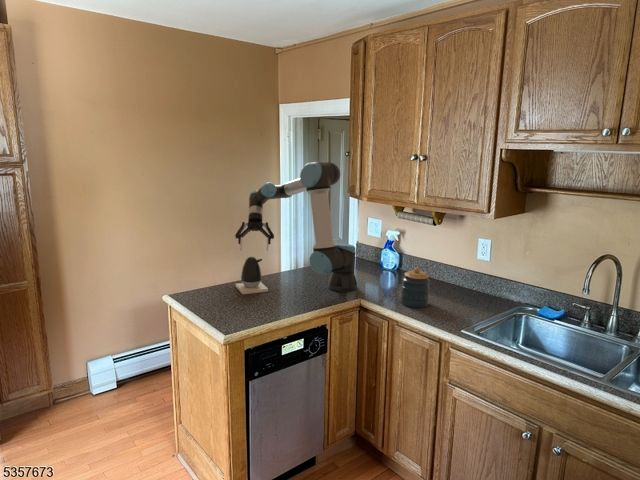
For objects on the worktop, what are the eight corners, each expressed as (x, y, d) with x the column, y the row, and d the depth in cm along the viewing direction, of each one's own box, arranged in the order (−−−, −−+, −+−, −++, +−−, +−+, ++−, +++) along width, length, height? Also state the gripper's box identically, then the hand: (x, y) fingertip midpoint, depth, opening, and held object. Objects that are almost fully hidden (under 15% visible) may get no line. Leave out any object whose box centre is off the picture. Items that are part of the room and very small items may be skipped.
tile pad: (268, 291, 220) (268, 288, 220) (242, 294, 215) (242, 291, 215) (260, 283, 232) (260, 281, 232) (235, 286, 226) (235, 283, 226)
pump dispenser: (260, 289, 218) (260, 259, 215) (239, 288, 218) (239, 259, 215) (263, 283, 228) (263, 254, 225) (243, 282, 228) (243, 254, 225)
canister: (411, 309, 202) (414, 272, 198) (394, 300, 214) (397, 265, 210) (433, 306, 208) (437, 270, 204) (416, 297, 219) (419, 263, 215)
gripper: (278, 220, 246) (278, 252, 235) (232, 219, 244) (230, 252, 232) (278, 212, 240) (278, 245, 228) (231, 211, 237) (229, 245, 226)
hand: (254, 249), depth 230 cm, fingers open, 13 cm apart
